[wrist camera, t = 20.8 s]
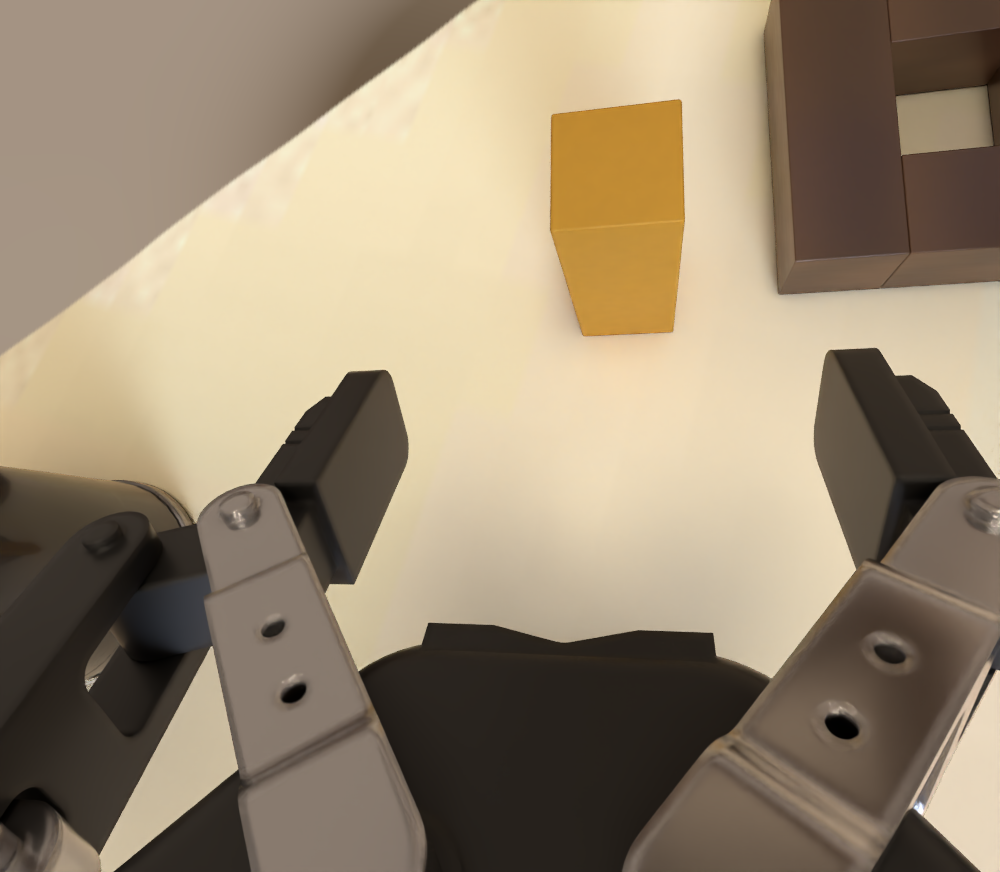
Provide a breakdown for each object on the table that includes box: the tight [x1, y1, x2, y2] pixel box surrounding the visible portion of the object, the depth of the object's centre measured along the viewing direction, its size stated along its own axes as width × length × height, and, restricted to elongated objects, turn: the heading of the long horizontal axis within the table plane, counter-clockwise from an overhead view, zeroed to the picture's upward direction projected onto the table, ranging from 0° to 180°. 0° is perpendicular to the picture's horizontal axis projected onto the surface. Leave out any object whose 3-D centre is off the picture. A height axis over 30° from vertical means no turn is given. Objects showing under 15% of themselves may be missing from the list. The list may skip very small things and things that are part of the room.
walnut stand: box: [764, 0, 1000, 294], centre depth 27 cm, size 13×13×4 cm
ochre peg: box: [550, 100, 685, 336], centre depth 26 cm, size 4×4×10 cm
